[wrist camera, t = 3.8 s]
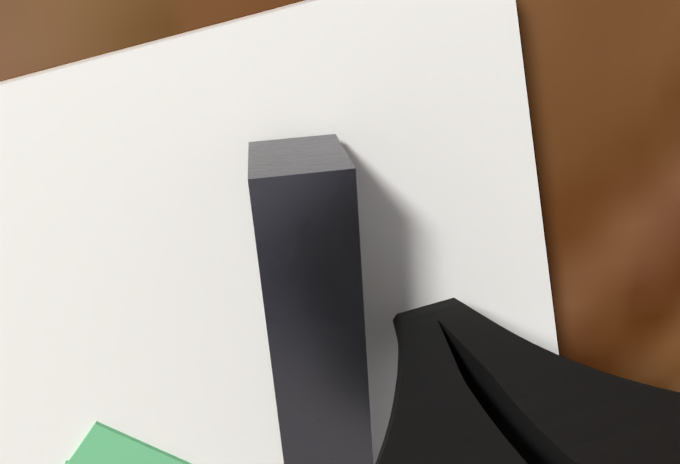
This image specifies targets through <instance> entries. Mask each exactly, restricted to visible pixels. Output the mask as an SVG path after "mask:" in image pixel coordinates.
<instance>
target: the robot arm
mask: <svg viewBox="0 0 680 464" xmlns="http://www.w3.org/2000/svg"><path fill="white" fill-rule="evenodd" d="M393 324H394V328H395V332H396V336H397V340H398V369H397V379H396V386H395V393H394V400H393V405H392V410H391V415H390V419H389V423H388V427H387V430H386V434H385V437H384V440H383V443H382V446H381V449H380V452H379V455H378V458H377V461H376V463H375V464H680V393H679V392H674V391H670V390H666V389H661V388H657V387H653V386H649V385H646V384H642V383H638V382H635V381H631V380H627V379H624V378H620V377H617V376H614V375H611V374H607V373H604V372H601V371H599V370H596V369H593V368H590V367H588V366H585V365H582V364H579V363H577V362H574V361H572V360H569V359H567V358H564V357H562V356H559V355H557V354H555V353H553V352H551V351H549V350H546V349H544V348H542V347H540V346H538V345H536V344H533V343H531V342H530V341H528V340H526V339H524V338H522V337H520V336H518V335H516V334H514V333H513V332H511V331H509V330H507V329H505V328H504V327H502V326H500V325H498V324H497V323H495V322H493V321H492V320H490V319H488V318H487V317H485V316H483V315H482V314H480V313H479V312H477V311H475V310H474V309H472V308H470V307H469V306H467V305H466V304H464V303H462V302H461V301H459V300H457V299H456V298H451V299H447V300H444V301H440V302H437V303H433V304H430V305H426V306H422V307H419V308H415V309H412V310H408V311H405V312H401V313H398V314H396V316H395V317H394V319H393Z"/></svg>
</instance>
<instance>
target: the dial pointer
mask: <svg viewBox="0 0 680 464" xmlns="http://www.w3.org/2000/svg"><path fill="white" fill-rule="evenodd" d="M248 186H249V194H250V202H251V210H252V218H253V225H254V233H255V241H256V249H257V257H258V265H259V272H260V280H261V288H262V296H263V304H264V312H265V319H266V327H267V335H268V343H269V351H270V358H271V366H272V374H273V382H274V390H275V398H276V405H277V413H278V421H279V429H280V437H281V445H282V452H283V460H284V464H373V453H372V436H371V419H370V402H369V385H368V368H367V351H366V334H365V317H364V300H363V283H362V266H361V249H360V232H359V215H358V198H357V181H356V168H355V166H354V164H353V163H352V161H351V159H350V158H349V156H348V154H347V153H346V151H345V149H344V147H343V146H342V144H341V142H340V141H339V139H338V137H337V135H336V134H329V135H318V136H308V137H297V138H287V139H276V140H266V141H256V142H249V147H248Z"/></svg>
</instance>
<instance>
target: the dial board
mask: <svg viewBox="0 0 680 464" xmlns="http://www.w3.org/2000/svg"><path fill="white" fill-rule="evenodd" d="M329 134H336V135H337V137H338V139H339V141H340V142H341V144H342V146H343V147H344V149H345V151H346V153H347V154H348V156H349V158H350V159H351V161H352V163H353V164H354V166H355V168H356V181H357V198H358V215H359V232H360V249H361V266H362V283H363V300H364V317H365V334H366V351H367V368H368V385H369V402H370V419H371V436H372V453H373V464H375V463H376V461H377V458H378V455H379V452H380V449H381V446H382V443H383V440H384V437H385V434H386V430H387V427H388V423H389V419H390V415H391V410H392V405H393V400H394V393H395V386H396V379H397V369H398V340H397V336H396V332H395V328H394V324H393V319H394V317H395V316H396V314H398V313H401V312H405V311H408V310H412V309H415V308H419V307H422V306H426V305H430V304H433V303H437V302H440V301H444V300H447V299H451V298H456V299H457V300H459V301H461V302H462V303H464V304H466V305H467V306H469V307H470V308H472V309H474V310H475V311H477V312H479V313H480V314H482V315H483V316H485V317H487V318H488V319H490V320H492V321H493V322H495V323H497V324H498V325H500V326H502V327H504V328H505V329H507V330H509V331H511V332H513V333H514V334H516V335H518V336H520V337H522V338H524V339H526V340H528V341H530V342H531V343H533V344H536V345H538V346H540V347H542V348H544V349H546V350H549V351H551V352H553V353H555V354H557V355H559V351H558V343H557V335H556V327H555V319H554V310H553V302H552V294H551V286H550V278H549V270H548V261H547V253H546V245H545V237H544V229H543V221H542V212H541V204H540V196H539V188H538V180H537V171H536V163H535V155H534V147H533V139H532V131H531V122H530V114H529V106H528V98H527V90H526V82H525V73H524V65H523V57H522V49H521V41H520V33H519V24H518V16H517V8H516V0H305V1H302V2H298V3H294V4H290V5H287V6H283V7H279V8H275V9H272V10H268V11H264V12H260V13H257V14H253V15H249V16H245V17H242V18H238V19H234V20H230V21H227V22H223V23H219V24H215V25H212V26H208V27H204V28H200V29H197V30H193V31H189V32H185V33H182V34H178V35H174V36H170V37H167V38H163V39H159V40H155V41H152V42H148V43H144V44H140V45H137V46H133V47H129V48H125V49H122V50H118V51H114V52H110V53H107V54H103V55H99V56H95V57H92V58H88V59H84V60H80V61H77V62H73V63H69V64H65V65H62V66H58V67H54V68H50V69H47V70H43V71H39V72H35V73H32V74H28V75H24V76H20V77H17V78H13V79H9V80H5V81H2V82H0V464H284V460H283V452H282V445H281V437H280V429H279V421H278V413H277V405H276V398H275V390H274V382H273V374H272V366H271V358H270V351H269V343H268V335H267V327H266V319H265V312H264V304H263V296H262V288H261V280H260V272H259V265H258V257H257V249H256V241H255V233H254V225H253V218H252V210H251V202H250V194H249V186H248V147H249V142H256V141H266V140H276V139H287V138H297V137H308V136H318V135H329Z"/></svg>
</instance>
